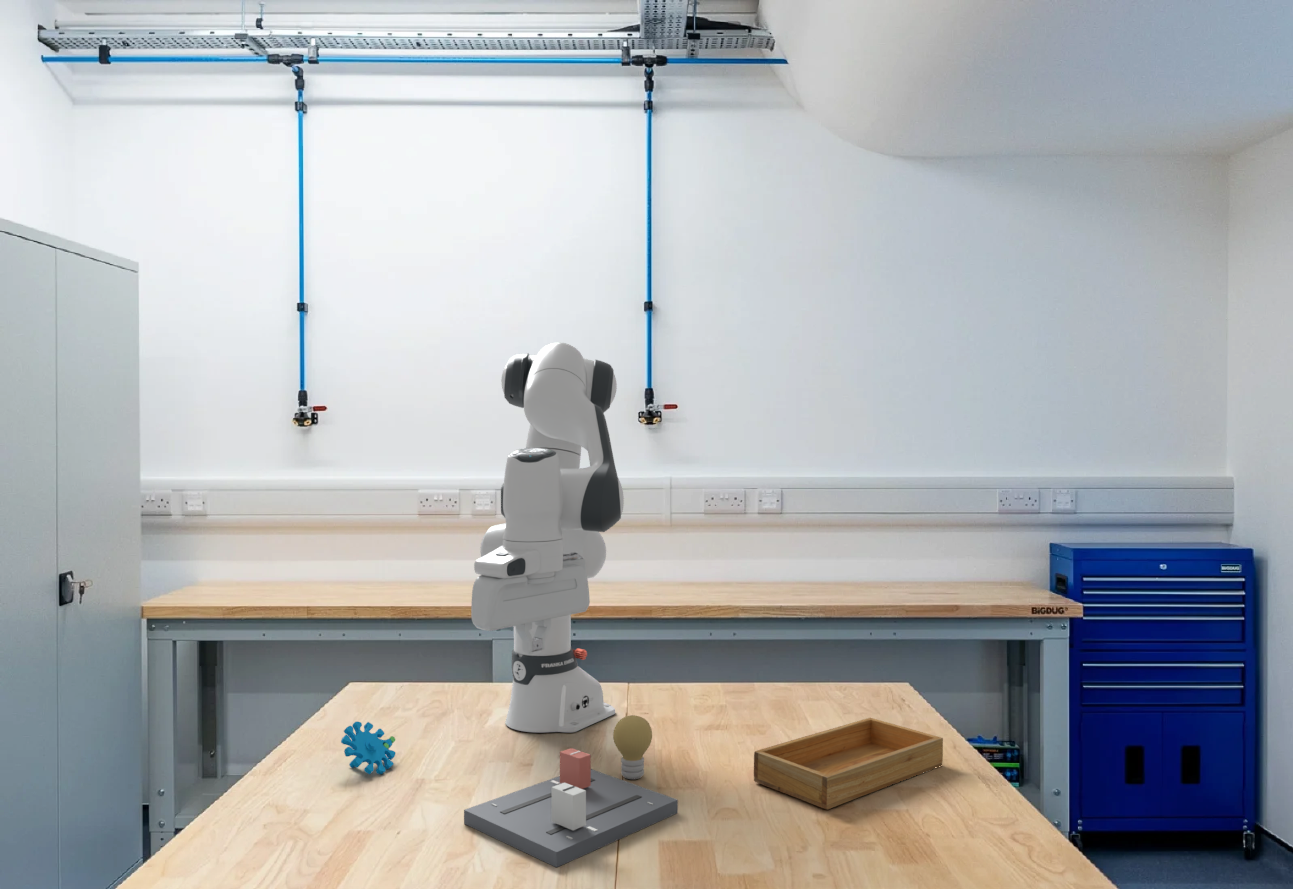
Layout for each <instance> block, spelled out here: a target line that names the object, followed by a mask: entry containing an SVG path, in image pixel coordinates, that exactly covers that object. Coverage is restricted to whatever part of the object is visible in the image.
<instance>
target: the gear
mask: <svg viewBox="0 0 1293 889" xmlns="http://www.w3.org/2000/svg"><path fill="white" fill-rule="evenodd" d="M362 726H363V730H364V731H362V730H361V728H362ZM373 728H374V725H373V723H371V722H369V721H367V722H366V723H365V724H364V725H363V724H362V722H361V721H354V723H353V724H352V725H348V726H347V727H346V728H344V730H343V732H344V734H345V735H344V736H343V737H342V738H341V741H340V743H341V744H342V745H345V746H347V747H346V748H345V749H344V750H343V752H344V753H343V754H344V755H345V757H350V756H353V757H354V756H355V757H354V758H353V759H352V760H351V761H350V762H349V767H350V768H353V769H354V768H359V767H360V766H361V765H362V763H367V765H366V766H364V768H363V771H364V773H366V774H368V775H371V774H372V773H373V772H374V771H375V772H376V774H377V775H383V774H384V773H385V772H386V770H389V769H391V768H392V767H393V766H394V762H393V761H392V760H393V759H394V758H395V757H396V752H395V750H391V749H390V748H391V747H392V746H393V744H394V743H395V741H396V738H395V737H394V736H390V737H388V738H387V739H381V738H382V737H383V736H384V735H385V731H383V729H382V728H378V729H377V730H376V731H375V733H374V732H373V733H372V732H371V730H372V729H373ZM354 731H355V732H354ZM374 765H376V766H377V767H376V769H375V767H374Z"/></svg>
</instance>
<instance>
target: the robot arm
mask: <svg viewBox="0 0 1293 889" xmlns="http://www.w3.org/2000/svg"><path fill="white" fill-rule="evenodd" d="M500 380H501V389H502V392H503V394H504V399H505V401H507V402H508V403H509V405H512V406H514V407H518V408H521V409H523V412H524V416H525V417H526V419H527V421H528V423H529V429H528V433H527V437H526V438H527V439H526V444H525V448H519V449H516V450H514V451H512V452H510V453H509V454H507V455H508V456H507V458H506V462H505V463H506V464H505V470H504V478H503V483H502V484H501V487H500V512H501V515H502V517H503V518H504V519H505V522H504V523H499V524H498V523H497V524H495V525H492V526H490V527H489V528H488V529H486V532H485V533H484V535H483V537H482V539H481V543H480V548H479V550H480V557H478V558H477V559H476V560H475V561H474V564H473V568H474V570H473V571H474V573H475V574H478V575H479V576H478V577H477V578H476V579H475V581H474V582H473V584H472V585H473V586H472V592H471V609H470V610H471V614H470V615H471V622H472V624H473V625H474V627H476V629H479V630H482V631H487V632H493V631H496V630H501V629H507V628H511V627H513V649H512V651H511V671H512V683H511V684H512V685H511V686H512V687H511V693H510V699H509V700H510V702H509V706H508V710H507V715H506V718H505V722H504V723H505V726H507V727H509V728H510V729H512V730H516V731H521V732H527V733H576V732H578V731H581V730H583V729H585V728H587V727H589V726H591V725H593V724H595V723H598V722H600V721H602V720H605V719H607V718H609V717H612V716H614V715H615V714H616V708H615V707H614V706H613V705H611V704H609V703H606V702H605V701H604V693H603V692H604V691H603V688H602V685H601V683H600V682H599V681H598V679H596V678H594V677H593V676H592V675H590V674H589V673H588V672H587V671H585V670H583V669H582V668H581V667H580V666H578V665H579V664H578V661H577V659H580V660H582V661H584V660H586V659H587V658H586V657H588V651H587V650H586V649H582V648H580V647H579V648H576V649H574V648H573V647H572V646H571V644H572V642H571V640H572V639H571V637H572V635H571V634H572V633H571V632H572V631H571V630H572V628H571V626H572V624H571V623H572V620H571V619H572V615H575V614H580V613H585V612H587V610H588V608H589V607H590V600H591V599H590V588H589V581H588V579H593V578H594V577H596V576H597V575H598V574H599V573H600V572H601V570H602V568H603V567H604V564H605V561H606V557H607V547H606V542H605V540H604V537H603V536H602V534H601V533H605V532H607V531H608V530H611V528H612V527H613V526H615V525H616V524H617V523H618V522H619V521H620V520H621V519H622V514H623V512H624V506H625V505H624V504H625V500H624V499H625V498H624V490H623V486H622V483H621V481H620V479H619V477H618V476H619V475H618V473H617V472H618V471H617V469H616V464H615V459H614V454H613V448H612V443H611V438H610V433H609V428H608V424H607V420H606V416H605V414H604V413H605V412H607V410H609V409H610V407H611V406H612V403H613V401H614V400H615V397H616V394H617V389H618V388H617V387H618V386H617V385H618V384H617V378H616V374H615V373H614V369H613V367H612V365H611V364H609V363H608V362H605V361H602V360H598V359H594V360H591V359H589V358H585V357H583V354H582V353H581V352H580V351H579V350H578V348H576V346H575V347H574V346H573V345H571V344H568V343H566V342H552V343H549V344H547V345H544V346H543V347H542V348H541V349H540V350H539V351H538V352H537V354H529V352H528V353H527V352H526V353H519V354H514V355H512V356H511V357H510V358H509V359H508V360H507V362H506V364H505V366H504V368H503V370H502V374H501V379H500ZM582 448H583V449H585V450H586V451H587V454H588V462H589V466H586V467H582V468H580V466H581V464H580V463H581V456H582V455H581V454H582Z"/></svg>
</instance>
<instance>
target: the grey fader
mask: <svg viewBox="0 0 1293 889" xmlns="http://www.w3.org/2000/svg"><path fill="white" fill-rule="evenodd" d="M552 822H554V823H556V824H559V825H561V826H563V827H566V828H568V829H571V830H576V829H578V828H580V827H583V826H585V825H586V790H583V789H580V788H578V787H575V786H573V785H570V784H567V783H565V782H564V783H562V784H559V785H556V786H553V787H552Z"/></svg>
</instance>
